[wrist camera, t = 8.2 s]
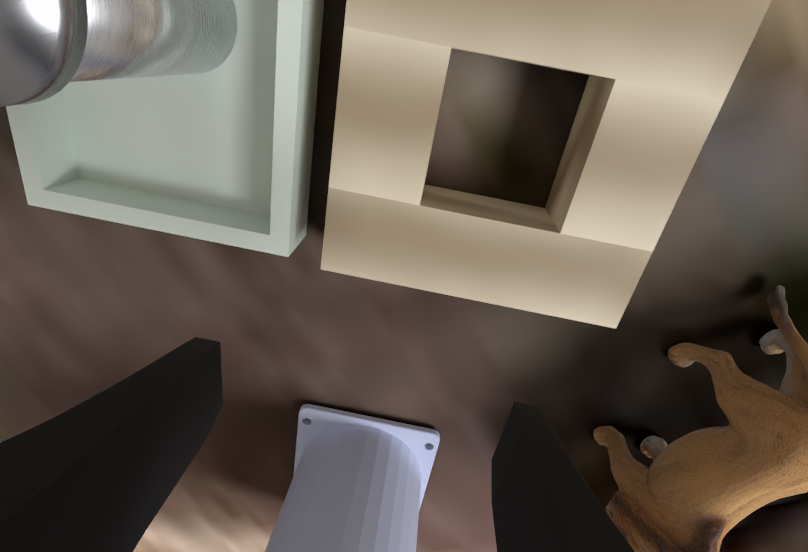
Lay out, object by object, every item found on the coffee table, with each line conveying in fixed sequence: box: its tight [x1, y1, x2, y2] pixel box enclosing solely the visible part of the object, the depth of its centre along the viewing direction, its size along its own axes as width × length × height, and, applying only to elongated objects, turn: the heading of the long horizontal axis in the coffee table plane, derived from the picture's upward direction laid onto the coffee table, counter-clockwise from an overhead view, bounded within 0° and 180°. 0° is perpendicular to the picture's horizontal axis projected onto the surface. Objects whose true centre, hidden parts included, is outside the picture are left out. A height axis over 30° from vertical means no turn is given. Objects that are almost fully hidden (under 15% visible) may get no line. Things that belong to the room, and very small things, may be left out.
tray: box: [6, 0, 324, 257], centre depth 16 cm, size 16×11×2 cm
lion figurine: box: [593, 285, 808, 552], centre depth 18 cm, size 15×5×9 cm, turn 162°
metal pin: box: [0, 0, 237, 107], centre depth 12 cm, size 5×5×9 cm
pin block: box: [321, 0, 772, 329], centre depth 16 cm, size 12×12×3 cm
